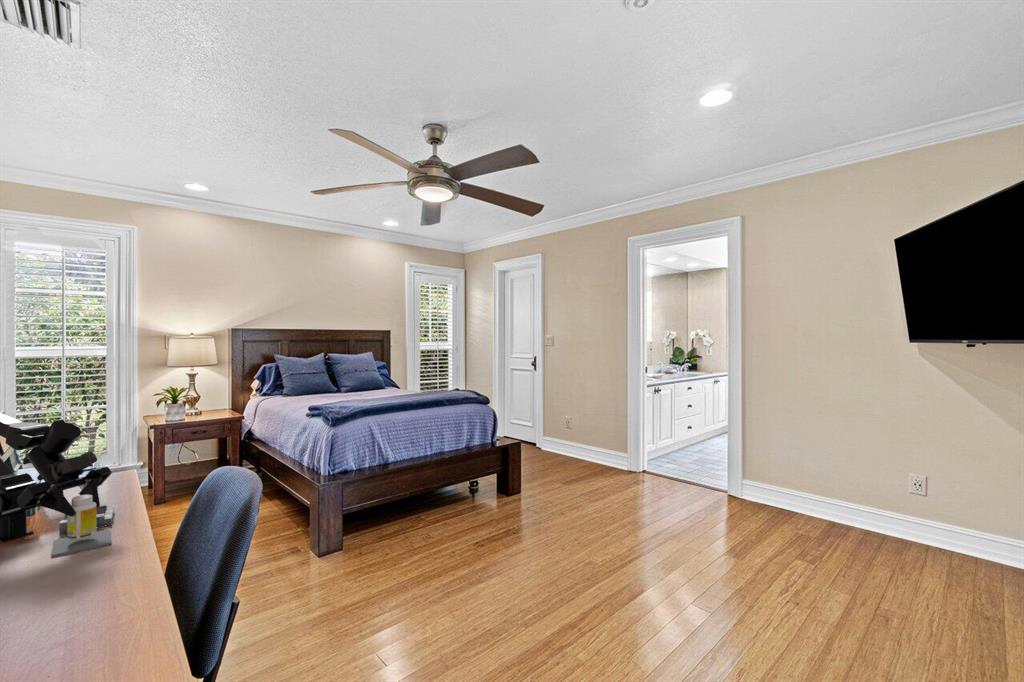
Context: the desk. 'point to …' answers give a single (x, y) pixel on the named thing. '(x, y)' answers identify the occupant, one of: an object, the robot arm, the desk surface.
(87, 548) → the slate pad
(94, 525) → the supplement bottle
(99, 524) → the vise
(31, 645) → the desk surface
